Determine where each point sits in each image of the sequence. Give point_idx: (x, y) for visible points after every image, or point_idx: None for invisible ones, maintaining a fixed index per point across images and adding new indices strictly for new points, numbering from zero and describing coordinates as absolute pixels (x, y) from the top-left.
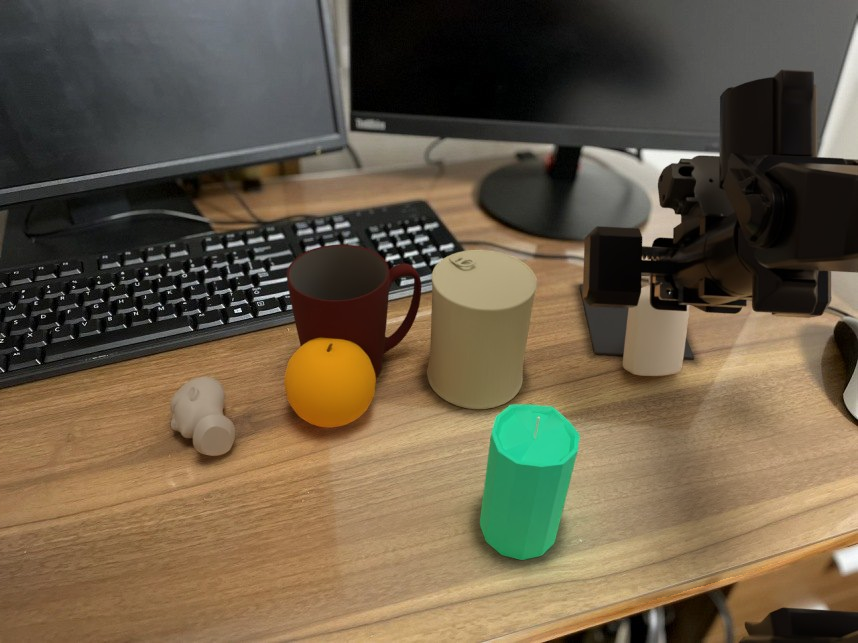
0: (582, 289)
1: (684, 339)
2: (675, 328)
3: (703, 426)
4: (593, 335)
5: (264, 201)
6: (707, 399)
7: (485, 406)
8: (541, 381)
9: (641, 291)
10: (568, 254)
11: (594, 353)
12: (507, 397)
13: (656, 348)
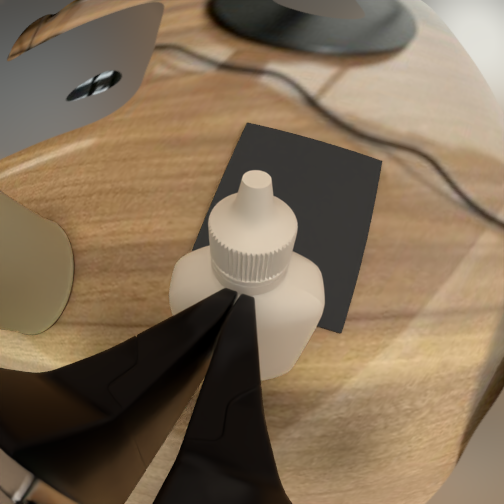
0: (244, 133)
1: (296, 355)
2: (264, 355)
3: None
4: (199, 239)
5: (47, 27)
6: (306, 420)
7: (19, 332)
8: (87, 311)
9: (183, 273)
10: (269, 68)
11: None
12: (36, 331)
13: None
